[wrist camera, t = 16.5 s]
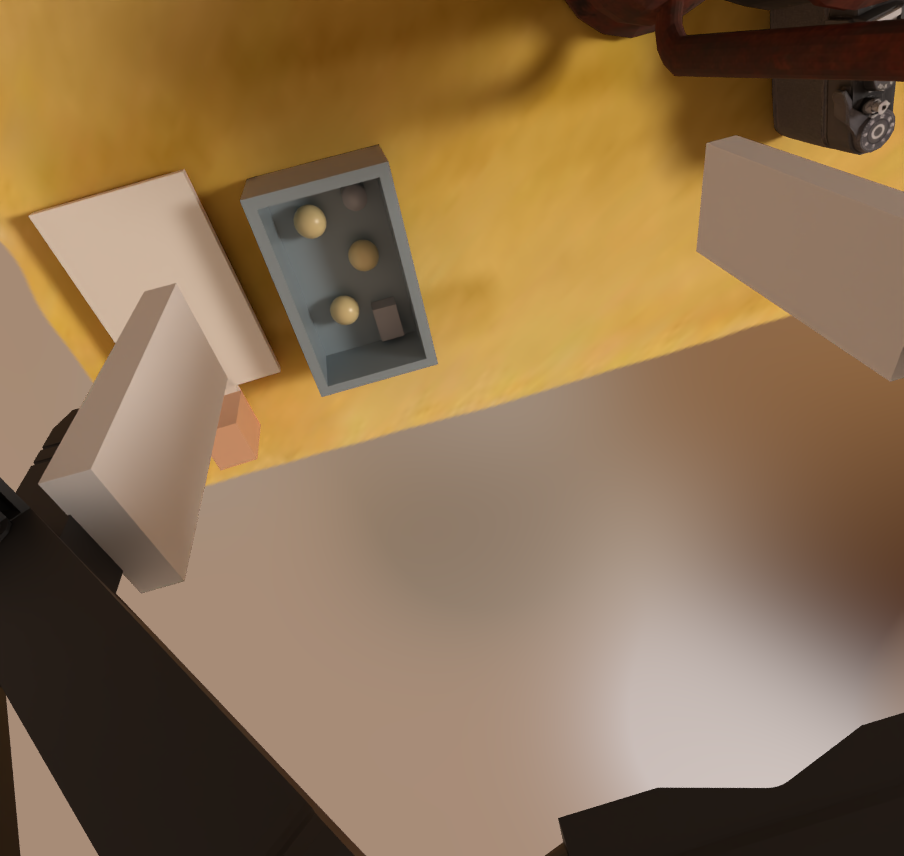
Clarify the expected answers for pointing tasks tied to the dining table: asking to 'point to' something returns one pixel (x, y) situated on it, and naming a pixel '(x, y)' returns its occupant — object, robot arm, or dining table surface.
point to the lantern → (758, 41)
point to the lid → (166, 282)
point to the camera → (835, 90)
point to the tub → (342, 267)
